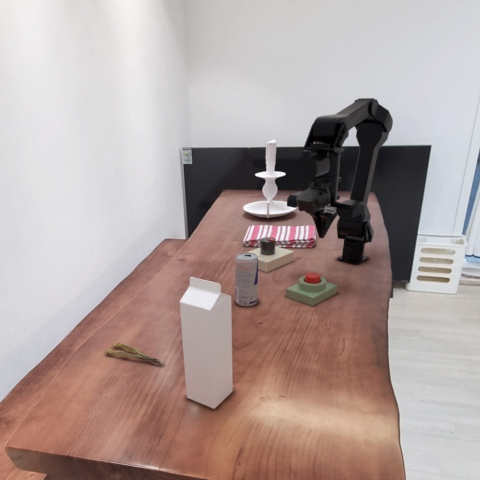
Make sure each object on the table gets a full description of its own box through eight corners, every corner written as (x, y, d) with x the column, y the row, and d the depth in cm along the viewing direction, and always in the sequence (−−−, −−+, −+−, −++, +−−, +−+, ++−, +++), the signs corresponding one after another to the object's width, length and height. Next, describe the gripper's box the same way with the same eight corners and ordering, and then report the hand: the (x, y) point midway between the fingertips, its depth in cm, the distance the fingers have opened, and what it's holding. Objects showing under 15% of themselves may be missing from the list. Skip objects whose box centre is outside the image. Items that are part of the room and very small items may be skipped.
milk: (205, 381, 86) (200, 270, 76) (233, 392, 83) (231, 276, 73) (185, 398, 82) (177, 282, 72) (214, 410, 79) (209, 290, 69)
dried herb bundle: (157, 368, 91) (156, 360, 90) (104, 357, 97) (102, 349, 96) (168, 358, 94) (167, 349, 93) (116, 348, 100) (114, 339, 99)
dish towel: (316, 248, 146) (316, 237, 145) (242, 247, 151) (242, 236, 150) (315, 232, 161) (315, 222, 160) (247, 231, 166) (247, 221, 164)
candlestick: (239, 225, 173) (239, 145, 159) (245, 208, 194) (245, 136, 181) (296, 225, 169) (300, 144, 156) (295, 208, 190) (299, 134, 177)
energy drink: (259, 298, 116) (260, 253, 111) (254, 308, 112) (255, 261, 106) (238, 296, 118) (238, 251, 112) (233, 305, 114) (232, 259, 108)
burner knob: (257, 252, 137) (257, 238, 135) (266, 249, 139) (267, 235, 137) (268, 256, 134) (268, 241, 132) (278, 252, 136) (278, 238, 134)
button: (310, 277, 117) (311, 271, 116) (322, 281, 115) (323, 274, 114) (301, 281, 115) (302, 275, 114) (314, 285, 113) (314, 279, 112)
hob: (267, 253, 145) (268, 243, 143) (293, 260, 138) (294, 250, 136) (241, 263, 138) (241, 253, 137) (266, 272, 131) (267, 261, 130)
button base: (310, 284, 122) (311, 270, 120) (336, 293, 117) (338, 278, 115) (285, 296, 117) (286, 281, 115) (312, 306, 111) (313, 290, 109)
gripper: (273, 176, 112) (272, 238, 119) (341, 186, 99) (335, 255, 107) (301, 168, 118) (299, 228, 126) (369, 176, 105) (361, 242, 113)
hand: (321, 237), depth 117 cm, fingers closed
